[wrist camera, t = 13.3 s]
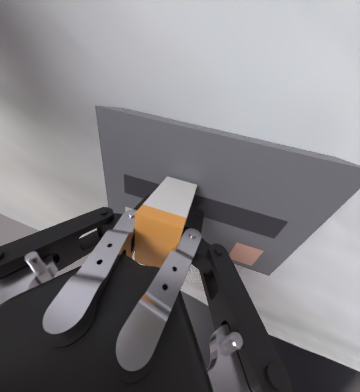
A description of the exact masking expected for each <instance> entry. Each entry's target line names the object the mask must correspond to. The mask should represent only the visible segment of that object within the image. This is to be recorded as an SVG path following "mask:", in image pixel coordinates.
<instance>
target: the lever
mask: <svg viewBox="0 0 360 392" xmlns="http://www.w3.org/2000/svg"><path fill="white" fill-rule="evenodd" d="M196 188H197V185H196V184H193V183H189V182H186V181H182V180H179V179H175V178H171V177H168V176H167V177H166V178H165V180H164V181H163V182H162V183H161V184H160V185H159V186H158V188H157V189H156V190H155V191H154V192H153V193H152V194H151V195H150V197H149V198H148V199H147V200H146V201H145V202H144V203H143V205H142V206H141V207H140V208H139V209H138V210H137V211H136V213H135V261H136V262H139V263H141V264H144V265H147V266H155V267H159V268H161V267H162V265H163V263H164V262H165V260H166V259H167V257H168V255H169V254H170V252H171V250H172V249H173V248H175V247H176V245H177V244H178V243H179V241H180V239H181V237H182V233H183V230H184V226H185V223H186V220H187V217H188V214H189V210H190V207H191V204H192V202H193V198H194V195H195V191H196Z"/></svg>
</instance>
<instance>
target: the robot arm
mask: <svg viewBox="0 0 360 392" xmlns="http://www.w3.org/2000/svg"><path fill="white" fill-rule="evenodd" d="M150 195H151V194H149V195H147V196H145V197H144V198H143V199H142V200H141V202H140V203H139V204H138V205H137V206H136V207H135V208H134V209H132V210H127V211H125V212H124V213H123V214H118V213H113V210H112V209H111V208H109V207H102V208H99V209H96V210H94V211H91V212H88V213H86V214H83V215H81V216H78V217H75V218H73V219H70V220H68V221H65V222H62V223H60V224H57V225H55V226H52V227H50V228H47V229H44V230H42V231H39V232H37V233H34V234H32V235H29V236H26V237H24V238H21V239H18V240H16V241H14V242H11V243H8V244H5V245H3V246H0V392H293V389H292V385H291V381H290V379H289V376H288V374H287V372H286V370H285V368H284V366H283V364H282V362H281V360H280V358H279V355H278V353H277V351H276V349H275V347H274V345H273V343H272V341H271V339H270V337H269V335H268V333H267V331H266V329H265V327H264V325H263V323H262V321H261V319H260V317H259V315H258V313H257V311H256V309H255V307H254V305H253V302H252V300H251V298H250V296H249V294H248V292H247V290H246V288H245V286H244V284H243V282H242V280H241V278H240V276H239V274H238V272H237V270H236V268H235V266H234V264H233V262H232V260H231V258H230V256H229V254H228V252H227V250H226V249H225V248H224V247H223V246H222V245H220V244H212V245H210V244H209V243H207V242H206V241H205V240H204V239H203V238H202V235H201V231H202V225H203V219H204V212H203V210H200V209H198V206H199V204H198V203H195V202H192V204H191V207H190V210H189V214H188V217H187V220H186V223H185V226H184V230H183V233H182V237H181V239H180V241H179V243H178V244H177V245H176V247H175V248H173V249H172V250H171V252H170V254H169V255H168V257H167V259H166V260H165V262H164V263H163V265H162V267H161V268H159V267H155V266H145V265H140V264H138V263H137V262H136V261H134V260H133V259H132V255H133V253H134V250H135V213H136V211H137V210H138V209H139V208H140V207H141V206H142V205H143V203H144V202H145V201H146V200H147V199H148V198H149V197H150ZM95 228H97V231H94V232H92V233H90V234H88V235H86V236H84V237H82V238H80V239H79V237H80V236H81V235H83V234H85V233H87V232H89V231H91V230H93V229H95ZM91 252H92V253H91ZM89 253H91V254H90V255H89V257H88V258H87V260H86V261H85V263H84V264H83V265H82V266H80V267H78V268H75V269H73V270H71V271H69V272H66V273H64V274H62V275H60V276H58V277H55V278H54V276H55V274H56V273H57V272H58V271H60V270H61V269H63V268H65V267H67V266H68V265H70V264H72V263H73V262H75V261H77V260H79V259H80V258H82V257H84V256H85V255H87V254H89ZM191 264H192V265H194V266H195V267H196V268H198V269H199V270H200V275H201V279H202V282H203V286H204V290H205V294H206V297H207V301H208V305H209V308H210V312H211V316H212V319H213V323H214V327H215V330H216V331H215V332H214V333H213V334H212V336H211V339H210V352H211V361H210V365H209V368H208V369H206V366H205V363H204V360H203V357H202V354H201V351H200V348H199V345H198V342H197V339H196V336H195V333H194V330H193V327H192V324H191V321H190V318H189V315H188V312H187V309H186V306H185V303H184V300H183V297H182V294H181V291H180V290H181V287H182V285H183V282H184V280H185V277H186V275H187V273H188V270H189V268H190V265H191Z"/></svg>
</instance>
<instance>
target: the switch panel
mask: <svg viewBox="0 0 360 392" xmlns="http://www.w3.org/2000/svg"><path fill="white" fill-rule="evenodd" d="M95 107H96V114H97V122H98V130H99V138H100V145H101V153H102V161H103V168H104V176H105V184H106V191H107V199H108V207H109V208H111V209H112V210H113V213H118V214H123V213H124V212H125V211H127V210H132V209H134V208H135V207H136V206H137V205H138V204H139V203H140V202H141V200H142V199H143V198H144V197H145V196H147V195H149V194H152V193H153V192H154V191H155V190H156V189H157V188H158V186H159V185H160V184H161V183H162V182H163V181H164V180H165V178H166V177H167V176H168V177H171V178H175V179H179V180H182V181H186V182H189V183H193V184H196V185H197V188H196V191H195V195H194V198H193V202H195V203H198V204H199V206H198V209H200V210H203V212H204V219H203V225H202V231H201V235H202V238H203V239H204V240H205V241H206V242H207V243H209V244H210V245H212V244H220V245H222V246H223V247H224V248H225V249H226V250H227V252H228V254H229V256H230V258H231V260H232V262H233V264H236V265H239V266H242V267H245V268H248V269H251V270H254V271H257V272H260V273H263V274H266V275H270V274H271V273H272V272H273V271H274V270H275V269H276V268H277V267H278V266H279V265H281V264H282V263H283V262H284V261H285V260H286V259H287V258H288V257H289V256H290V255H291V254H292V253H293V252H294V251H295V250H296V249H297V248H298V247H299V246H300V245H301V244H302V243H303V242H304V241H306V240H307V239H308V238H309V237H310V236H311V235H312V234H313V233H314V232H315V231H316V230H317V229H318V228H319V227H320V226H321V225H322V224H323V223H324V222H325V221H326V220H327V219H328V218H330V217H331V216H332V215H333V214H334V213H335V212H336V211H337V210H338V209H339V208H340V207H341V206H342V205H343V204H344V203H345V202H346V201H347V200H348V199H349V198H350V197H351V196H352V195H354V194H355V193H356V192H357V191H358V190H359V189H360V166H359V165H356V164H354V163H351V162H348V161H345V160H342V159H339V158H336V157H333V156H328V155H324V154H319V153H315V152H311V151H306V150H302V149H298V148H293V147H289V146H285V145H280V144H276V143H272V142H267V141H263V140H259V139H254V138H250V137H246V136H241V135H237V134H233V133H228V132H224V131H220V130H215V129H211V128H207V127H202V126H198V125H194V124H189V123H185V122H181V121H176V120H172V119H168V118H163V117H159V116H155V115H150V114H146V113H142V112H137V111H133V110H129V109H124V108H116V107H104V106H95Z"/></svg>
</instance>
